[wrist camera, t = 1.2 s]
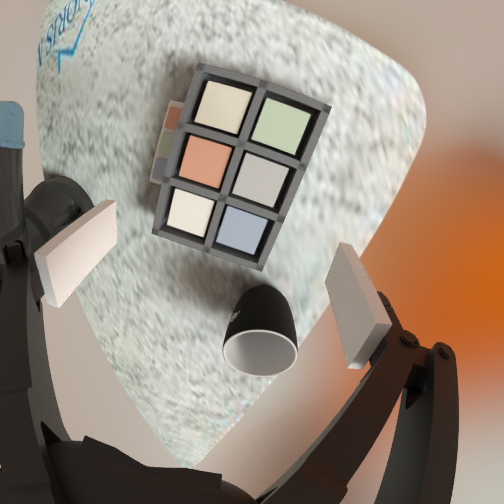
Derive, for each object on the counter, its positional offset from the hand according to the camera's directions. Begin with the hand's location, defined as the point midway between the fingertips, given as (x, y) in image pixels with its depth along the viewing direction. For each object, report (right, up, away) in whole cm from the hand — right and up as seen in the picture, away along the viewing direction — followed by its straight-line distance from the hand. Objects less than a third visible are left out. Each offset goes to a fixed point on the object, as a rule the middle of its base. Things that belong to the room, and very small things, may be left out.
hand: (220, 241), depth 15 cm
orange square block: (-3, +10, +13) cm, 17 cm away
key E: (+5, +12, +11) cm, 17 cm away
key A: (+1, +3, +17) cm, 17 cm away
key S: (-1, +14, +11) cm, 18 cm away
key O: (-5, +5, +16) cm, 17 cm away
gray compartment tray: (-1, +10, +15) cm, 18 cm away
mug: (+3, -9, +25) cm, 27 cm away
